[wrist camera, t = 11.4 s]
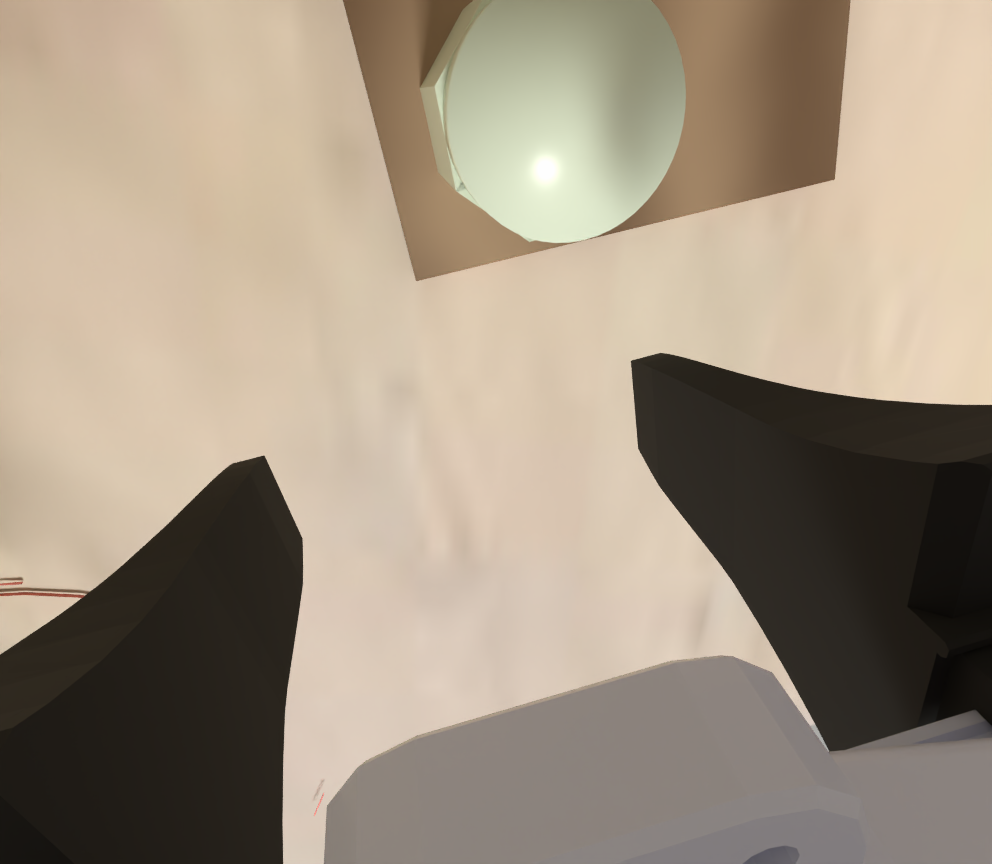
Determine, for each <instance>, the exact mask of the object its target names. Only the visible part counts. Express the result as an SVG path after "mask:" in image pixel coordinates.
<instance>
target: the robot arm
mask: <svg viewBox="0 0 992 864" xmlns="http://www.w3.org/2000/svg"><path fill="white" fill-rule="evenodd" d="M631 367H632V379H633V391H634V403H635V415H636V427H637V439H638V449H639V451H640V453H641V454H642V456H643V458H644V460H645V462H646V464H647V466H648V467H649V469H650V471H651V473H652V474H653V476H654V478H655V480H656V481H657V483H658V485H659V486H660V488H661V489H662V490H663V492H664V493H665V494H666V496H667V497H668V498H669V499H670V501H671V502H672V503H673V505H674V506H675V507H676V509H677V510H678V511H679V512H680V514H681V515H682V516H683V518H684V519H685V520H686V521H687V523H688V524H689V525H690V526H691V528H692V529H693V530H694V531H695V533H696V534H697V535H698V537H699V538H700V539H701V540H702V542H703V543H704V544H705V545H706V547H707V548H708V549H709V551H710V552H711V553H712V554H713V556H714V557H715V558H716V559H717V561H718V562H719V563H720V565H721V566H722V567H723V569H724V570H725V572H726V573H727V574H728V576H729V577H730V579H731V580H732V581H733V583H734V584H735V586H736V588H737V589H738V591H739V592H740V594H741V596H742V597H743V599H744V601H745V602H746V604H747V605H748V607H749V609H750V610H751V612H752V614H753V615H754V617H755V618H756V620H757V622H758V623H759V625H760V627H761V628H762V630H763V632H764V634H765V635H766V637H767V639H768V640H769V642H770V644H771V646H772V647H773V649H774V651H775V652H776V654H777V656H778V658H779V659H780V661H781V663H782V664H783V666H784V668H785V670H786V671H787V673H788V675H789V677H790V679H791V681H792V682H793V684H794V686H795V688H796V690H797V691H798V693H799V695H800V697H801V699H802V701H803V702H804V704H805V706H806V708H807V710H808V712H809V713H810V715H811V717H812V719H813V721H814V723H815V724H816V726H817V728H818V730H819V732H820V734H821V736H822V737H823V740H824V742H825V744H826V745H827V747H828V749H829V752H828V751H827V749H826V748H825V747H824V745H823V744H822V742H821V741H820V740H819V738H818V737H817V735H816V734H815V733H814V731H813V730H812V728H811V727H810V725H809V724H808V723H807V721H806V720H805V718H804V717H803V715H802V714H801V713H800V711H799V710H798V708H797V707H796V706H795V704H794V703H793V701H792V700H791V698H790V697H789V696H788V694H787V693H786V691H785V690H784V689H783V687H782V686H781V684H780V683H779V681H778V680H777V679H776V677H775V676H774V674H773V673H772V672H770V671H767V670H765V669H762V668H760V667H757V666H755V665H752V664H750V663H748V662H745V661H743V660H740V659H738V658H735V657H733V656H713V657H703V658H694V659H685V660H676V661H669V662H666V663H662V664H659V665H656V666H652V667H649V668H645V669H642V670H639V671H635V672H632V673H628V674H625V675H622V676H618V677H615V678H611V679H608V680H605V681H601V682H598V683H594V684H591V685H588V686H584V687H581V688H577V689H574V690H571V691H567V692H564V693H561V694H557V695H554V696H550V697H547V698H544V699H540V700H537V701H533V702H530V703H527V704H523V705H520V706H516V707H513V708H510V709H506V710H503V711H499V712H496V713H493V714H489V715H486V716H482V717H479V718H476V719H472V720H469V721H465V722H462V723H459V724H455V725H452V726H449V727H445V728H442V729H438V730H435V731H432V732H428V733H425V734H421V735H418V736H415V737H413V738H411V739H409V740H407V741H405V742H403V743H401V744H399V745H397V746H395V747H393V748H391V749H389V750H387V751H385V752H383V753H381V754H379V755H377V756H375V757H373V758H371V759H369V760H367V761H365V762H364V763H363V764H361V765H360V766H359V767H358V768H357V769H356V770H355V771H354V773H353V774H352V775H351V776H350V778H349V779H348V780H347V781H346V783H345V784H344V785H343V786H342V788H341V789H340V790H339V791H338V793H337V794H336V795H335V796H334V798H333V799H332V800H331V802H330V803H329V804H328V805H327V815H326V834H325V853H324V864H992V405H950V404H925V403H912V402H899V401H885V400H875V399H866V398H858V397H851V396H844V395H838V394H831V393H824V392H818V391H813V390H807V389H802V388H797V387H793V386H789V385H784V384H780V383H775V382H771V381H767V380H763V379H759V378H755V377H751V376H747V375H744V374H740V373H736V372H733V371H729V370H726V369H722V368H719V367H715V366H712V365H708V364H705V363H701V362H698V361H694V360H691V359H687V358H683V357H679V356H675V355H671V354H664V353H659V354H655V355H651V356H647V357H643V358H640V359H636V360H632V361H631ZM302 586H303V542H302V537H301V535H300V532H299V530H298V528H297V526H296V524H295V521H294V519H293V517H292V515H291V513H290V510H289V508H288V506H287V504H286V502H285V500H284V497H283V495H282V493H281V491H280V489H279V486H278V484H277V482H276V480H275V478H274V475H273V473H272V471H271V469H270V467H269V465H268V462H267V460H266V458H265V456H260V457H256V458H253V459H249V460H245V461H241V462H237V463H233V464H231V465H230V466H228V467H227V468H226V469H225V470H223V471H222V472H221V473H220V474H219V475H218V476H217V477H216V478H214V479H213V480H212V481H211V482H210V483H209V484H208V485H207V486H206V487H205V488H204V489H203V490H202V491H201V492H200V493H199V494H198V495H197V496H196V497H195V498H194V499H193V500H192V501H191V502H190V503H189V504H188V505H187V506H186V507H185V508H184V509H183V510H182V511H181V512H180V513H179V514H178V515H177V516H176V517H175V518H174V519H173V520H172V521H171V522H169V523H168V524H167V525H166V526H165V527H164V528H163V529H162V530H161V531H160V532H159V533H158V534H157V535H156V536H154V537H153V538H152V539H151V540H150V541H149V542H148V543H147V544H146V545H145V546H143V547H142V548H141V549H140V550H139V551H138V552H137V553H136V554H135V555H134V556H132V557H131V558H130V559H129V560H128V561H127V562H126V563H125V564H124V565H123V566H121V567H120V568H119V569H118V570H117V571H115V572H114V573H113V574H112V575H111V576H109V577H108V578H107V579H106V580H104V581H103V582H102V583H101V584H100V585H98V586H97V587H96V588H94V589H93V590H92V591H91V592H89V593H88V594H87V595H85V596H84V597H83V598H81V599H80V600H79V601H77V602H76V603H75V604H74V605H72V606H71V607H70V608H68V609H67V610H65V611H64V612H63V613H61V614H60V615H59V616H57V617H56V618H54V619H53V620H51V621H50V622H48V623H47V624H45V625H44V626H42V627H41V628H39V629H38V630H36V631H35V632H33V633H32V634H30V635H29V636H27V637H26V638H24V639H23V640H21V641H20V642H18V643H17V644H16V645H14V646H13V647H11V648H10V649H8V650H7V651H5V652H4V653H2V654H1V655H0V864H283V830H282V812H283V751H284V723H285V706H286V696H287V687H288V680H289V674H290V667H291V661H292V654H293V648H294V641H295V635H296V628H297V622H298V615H299V608H300V601H301V593H302Z"/></svg>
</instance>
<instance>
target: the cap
mask: <svg viewBox="0 0 992 864" xmlns="http://www.w3.org/2000/svg"><path fill="white" fill-rule="evenodd" d="M420 91H421V95H422V100H423V105H424V109H425V114H426V118H427V123H428V128H429V132H430V137H431V142H432V146H433V151H434V155H435V160H436V165H437V169H438V173H439V174H440V175H441V176H442V177H443V178H444V179H445V180H446V181H447V182H448V183H449V184H450V185H451V186H452V188H453V189H454V190H455V191H456V192H458V193H459V194H461V195H462V196H464V197H465V198H467V199H468V200H470V201H471V202H472V203H474V204H475V205H477V206H478V207H480V208H481V209H483V210H484V211H485V212H487V213H488V214H489V215H490V216H491V217H492V218H494V219H495V220H496V221H497V222H499V223H500V224H501V225H503V226H504V227H506V228H508V229H509V230H511V231H513V232H515V233H517V234H519V235H520V236H522V237H523V238H524V239H526V240H527V241H529V242H531V241H535V240H538V241H542V242H551V243H570V242H576V241H582V240H586V239H589V238H592V237H596V236H598V235H601V234H603V233H605V232H607V231H609V230H611V229H613V228H615V227H616V226H618V225H619V224H621V223H623V222H624V221H625V220H627V219H628V218H629V217H630V216H632V215H633V214H634V213H635V212H636V211H637V210H638V209H639V208H640V207H641V206H642V205H643V204H644V203H645V202H646V201H647V200H648V199H649V198H650V196H651V195H652V194H653V193H654V191H655V190H656V189H657V187H658V186H659V184H660V183H661V181H662V179H663V178H664V176H665V175H666V173H667V170H668V168H669V166H670V164H671V162H672V160H673V158H674V155H675V152H676V150H677V147H678V144H679V140H680V136H681V132H682V128H683V122H684V115H685V104H686V86H685V74H684V69H683V64H682V58H681V55H680V51H679V48H678V45H677V42H676V39H675V37H674V35H673V33H672V31H671V29H670V26H669V24H668V23H667V21H666V19H665V18H664V16H663V15H662V13H661V12H660V10H659V9H658V7H657V6H656V5H655V4H654V3H653V2H652V1H651V0H473V1H472V2H471V3H470V4H469V5H467V6H466V7H465V8H464V9H463V10H462V12H461V14H460V15H459V17H458V19H457V21H456V23H455V25H454V26H453V28H452V30H451V32H450V34H449V36H448V37H447V39H446V41H445V43H444V45H443V47H442V48H441V50H440V52H439V54H438V56H437V58H436V59H435V61H434V63H433V65H432V67H431V69H430V70H429V72H428V74H427V76H426V78H425V80H424V81H423V83H422V85H421V87H420Z"/></svg>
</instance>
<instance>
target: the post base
mask: <svg viewBox="0 0 992 864" xmlns="http://www.w3.org/2000/svg"><path fill="white" fill-rule="evenodd" d="M472 1H473V0H343V2H344V5H345V9H346V13H347V17H348V21H349V25H350V29H351V32H352V36H353V40H354V44H355V48H356V52H357V55H358V59H359V63H360V67H361V71H362V75H363V78H364V82H365V86H366V90H367V94H368V98H369V102H370V105H371V109H372V113H373V117H374V121H375V125H376V128H377V132H378V136H379V140H380V144H381V148H382V152H383V155H384V159H385V163H386V167H387V171H388V175H389V178H390V182H391V186H392V190H393V194H394V198H395V202H396V205H397V209H398V213H399V217H400V221H401V225H402V228H403V232H404V236H405V240H406V244H407V248H408V252H409V255H410V259H411V263H412V267H413V271H414V274H415V278H416V281H419V280H423V279H427V278H431V277H435V276H439V275H443V274H448V273H452V272H456V271H460V270H464V269H468V268H472V267H476V266H480V265H485V264H489V263H493V262H497V261H501V260H505V259H509V258H513V257H517V256H522V255H526V254H530V253H534V252H538V251H542V250H546V249H550V248H555V247H559V246H563V245H567V244H571V243H575V242H570V243H551V242H542V241H538V240H535V241H531V242H529V241H527V240H526V239H524V238H523V237H522V236H520V235H519V234H517V233H515V232H513V231H511V230H509V229H508V228H506V227H504V226H503V225H501V224H500V223H499V222H497V221H496V220H495V219H494V218H492V217H491V216H490V215H489V214H488V213H487V212H485V211H484V210H483V209H481V208H480V207H478V206H477V205H475V204H474V203H472V202H471V201H470V200H468V199H467V198H465V197H464V196H462V195H461V194H459V193H458V192H456V191H455V190H454V189H453V188H452V186H451V185H450V184H449V183H448V182H447V181H446V180H445V179H444V178H443V177H442V176H441V175H440V174H439V173H438V169H437V165H436V160H435V155H434V151H433V146H432V142H431V137H430V132H429V128H428V123H427V118H426V114H425V109H424V105H423V100H422V95H421V91H420V87H421V85H422V83H423V81H424V80H425V78H426V76H427V74H428V72H429V70H430V69H431V67H432V65H433V63H434V61H435V59H436V58H437V56H438V54H439V52H440V50H441V48H442V47H443V45H444V43H445V41H446V39H447V37H448V36H449V34H450V32H451V30H452V28H453V26H454V25H455V23H456V21H457V19H458V17H459V15H460V14H461V12H462V10H463V9H464V8H465V7H466V6H467V5H469V4H470V3H471V2H472ZM651 1H652V2H653V3H654V4H655V5H656V6H657V7H658V9H659V10H660V12H661V13H662V15H663V16H664V18H665V19H666V21H667V23H668V24H669V26H670V29H671V31H672V33H673V35H674V37H675V39H676V42H677V45H678V48H679V51H680V55H681V58H682V64H683V69H684V74H685V86H686V104H685V115H684V122H683V128H682V132H681V136H680V140H679V144H678V147H677V150H676V152H675V155H674V158H673V160H672V162H671V164H670V166H669V168H668V170H667V173H666V175H665V176H664V178H663V179H662V181H661V183H660V184H659V186H658V187H657V189H656V190H655V191H654V193H653V194H652V195H651V196H650V198H649V199H648V200H647V201H646V202H645V203H644V204H643V205H642V206H641V207H640V208H639V209H638V210H637V211H636V212H635V213H634V214H633V215H632V216H630V217H629V218H628V219H627V220H625V221H624V222H623V223H621V224H619V225H618V226H616V227H615V228H613V229H611V230H609V231H607V232H605V233H603V234H601V235H598V236H596V237H600V236H604V235H608V234H612V233H616V232H620V231H624V230H629V229H633V228H637V227H641V226H645V225H649V224H653V223H657V222H662V221H666V220H670V219H674V218H678V217H682V216H686V215H690V214H694V213H699V212H703V211H707V210H711V209H715V208H719V207H723V206H727V205H731V204H736V203H740V202H744V201H748V200H752V199H756V198H760V197H764V196H769V195H773V194H777V193H781V192H785V191H789V190H793V189H797V188H801V187H806V186H810V185H814V184H818V183H822V182H826V181H830V180H834V179H835V170H836V158H837V147H838V136H839V124H840V113H841V101H842V90H843V79H844V67H845V56H846V45H847V33H848V22H849V11H850V0H651ZM596 237H592V238H596ZM592 238H589V239H592ZM586 240H587V239H586ZM582 241H583V240H582ZM576 242H579V241H576Z"/></svg>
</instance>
